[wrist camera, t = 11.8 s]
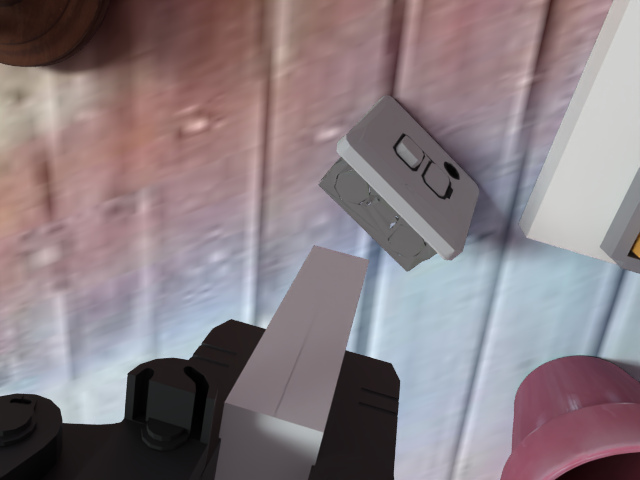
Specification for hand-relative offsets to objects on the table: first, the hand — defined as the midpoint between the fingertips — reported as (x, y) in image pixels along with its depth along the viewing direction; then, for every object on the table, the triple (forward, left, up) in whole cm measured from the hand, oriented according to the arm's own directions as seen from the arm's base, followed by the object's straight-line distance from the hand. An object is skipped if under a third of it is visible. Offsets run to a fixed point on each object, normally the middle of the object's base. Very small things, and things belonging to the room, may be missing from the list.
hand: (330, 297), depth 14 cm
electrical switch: (+1, +2, -24) cm, 24 cm away
